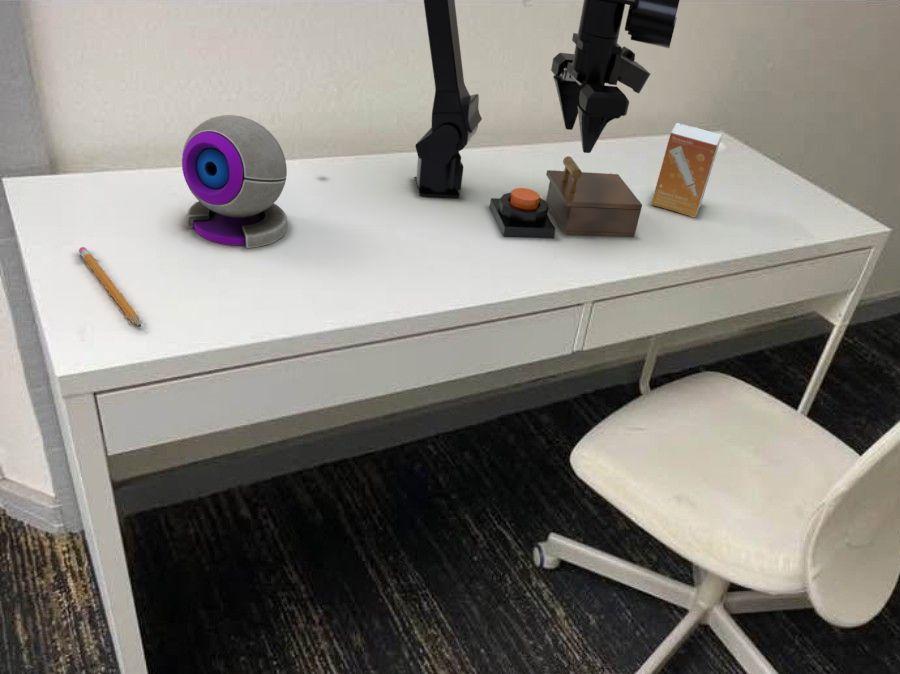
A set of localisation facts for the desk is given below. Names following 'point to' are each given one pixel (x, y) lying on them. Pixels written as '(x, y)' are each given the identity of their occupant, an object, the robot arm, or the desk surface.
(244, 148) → the webcam
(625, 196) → the lid
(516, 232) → the panel
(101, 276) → the pencil
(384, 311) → the desk surface
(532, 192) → the release button
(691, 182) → the small box
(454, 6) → the robot arm
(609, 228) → the storage box
